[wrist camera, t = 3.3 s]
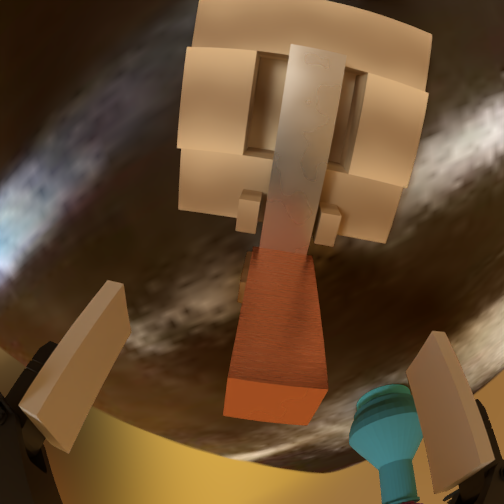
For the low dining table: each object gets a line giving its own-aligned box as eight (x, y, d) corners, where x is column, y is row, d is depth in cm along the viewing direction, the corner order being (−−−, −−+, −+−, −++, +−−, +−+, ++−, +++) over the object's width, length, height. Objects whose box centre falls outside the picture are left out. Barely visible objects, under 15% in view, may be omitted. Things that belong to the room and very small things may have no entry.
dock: (208, 2, 13) (183, -25, 9) (415, 42, 13) (454, 30, 9) (185, 260, 22) (162, 302, 18) (354, 286, 22) (368, 333, 18)
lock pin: (283, 48, 12) (284, -31, 3) (346, 61, 12) (442, 16, 3) (250, 269, 18) (223, 415, 9) (301, 277, 18) (307, 425, 9)
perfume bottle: (330, 414, 31) (334, 529, 18) (378, 370, 27) (402, 508, 14) (387, 422, 32) (400, 522, 19) (434, 383, 28) (465, 494, 15)
